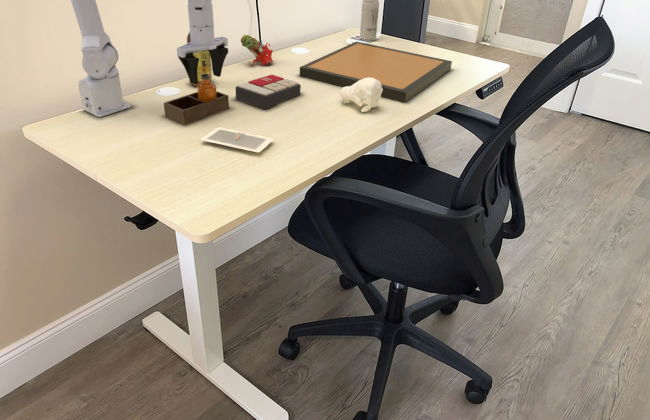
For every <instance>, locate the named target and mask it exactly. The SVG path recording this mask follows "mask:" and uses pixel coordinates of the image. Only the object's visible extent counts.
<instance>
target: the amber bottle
mask: <svg viewBox="0 0 650 420" xmlns="http://www.w3.org/2000/svg"><path fill="white" fill-rule="evenodd" d="M201 78H202V82H201V83H200V84H199V85H197V86H196V90H197V91H196V92H198V99H199V100H202V101H204V102H208V101H211V100H213V99H216V98H217V85H216V83H214V82H212V81H211V82H210V78H211V77H210V75H209V74H202V75H201Z"/></svg>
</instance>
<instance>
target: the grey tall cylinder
mask: <svg viewBox="0 0 650 420" xmlns="http://www.w3.org/2000/svg"><path fill="white" fill-rule="evenodd" d="M361 3H362V4H361V16H360V17H361V18H360V31H359V38H360V40H361V41H363V42H374V41H375V39H376V38H377V34H378V33H377V31H378V20H379V8H380V1H379V0H362V2H361ZM361 37H362V38H361ZM364 38H365V39H364Z"/></svg>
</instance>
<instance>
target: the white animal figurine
mask: <svg viewBox="0 0 650 420" xmlns="http://www.w3.org/2000/svg"><path fill="white" fill-rule="evenodd" d="M382 91H383V89H382V85H381V83H380V81H378V80H376V79H374V78H364V79H362V80H359V81H358V82H356V83H354V84H353V85H352V86H346V87H341V89H340V91H339V97H340V98H341V100H342V101H343V103H344V105H346V103H347V104H349V103H350V102H352V103H353V102H354V103H355V104H356V105H357V106H358V107H362V108H361V110H360V112H361V113H366V112H369V111H370V110H371V109H374V108H376V107H377V105H378V104H379V102H380V100H381V98H382V97H381V94H382ZM365 101H366V102H367V105H365V106H363V102H365Z"/></svg>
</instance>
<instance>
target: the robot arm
mask: <svg viewBox="0 0 650 420" xmlns="http://www.w3.org/2000/svg"><path fill="white" fill-rule="evenodd" d="M70 1H71V5H72V8H73V12H74V15H75V19H76V22H77V25H78V28H79V31H80V34H81V37H82V39H81V46H80V47H81V48H80V49H81V53H82V61H81V65H82V66H81V67H82V69H83V71H84V72H85V73H86V74H87V75H86V76H85V77H84V78H82V79H80V80H78V90H79V91H78V92H79V94H80V99H81V104H82V107H81V110H83V111H85V112H87V113H89V114H91V115H93V116H95V117H97V118H102V117H105V116H107V115H111V114H114V113H117V112H120V111H124V110H127V109H129V108H132V105H131V104H130V103H127V102H126V101H124V97H123V91H122V85H121V79H120V73H119V70H118V68H117V66H116V64H117V63H118V61H119V53H118V50H117V49H116V47H115V46H114V45H113V43H112V41H111V38H110V36H109V35H108V34H107V33H106V31H105V29H104V25H103V22H102V17H101V15H100V10H99V8H98V3H97V1H96V0H70ZM187 12H188V15H187V16H188V26H189V32H190V38H191V42H189V43H187V42H186V44H184V45H180V46H179V47H176V55H177V58H178V59H179V61H180V63H181V64H182V65H183V67H184V70H185V72H186V75H187V76H188V80H189V83H190V84H191V83H193V84H198V73H197V70H198V62H199V58H196V57H195V55H193V54H194V53H198V52H202V51H206V50H209V53H210V57H211V72H212V76H215V77H218V78H220V77H221V76H222V71H223V66H224V62H225V60H226V58H227V55H229V54H228V53H229V48H228V46H229V40H228V37H225V36H218V37H215V25H214V9H213V3H212V0H187Z"/></svg>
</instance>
